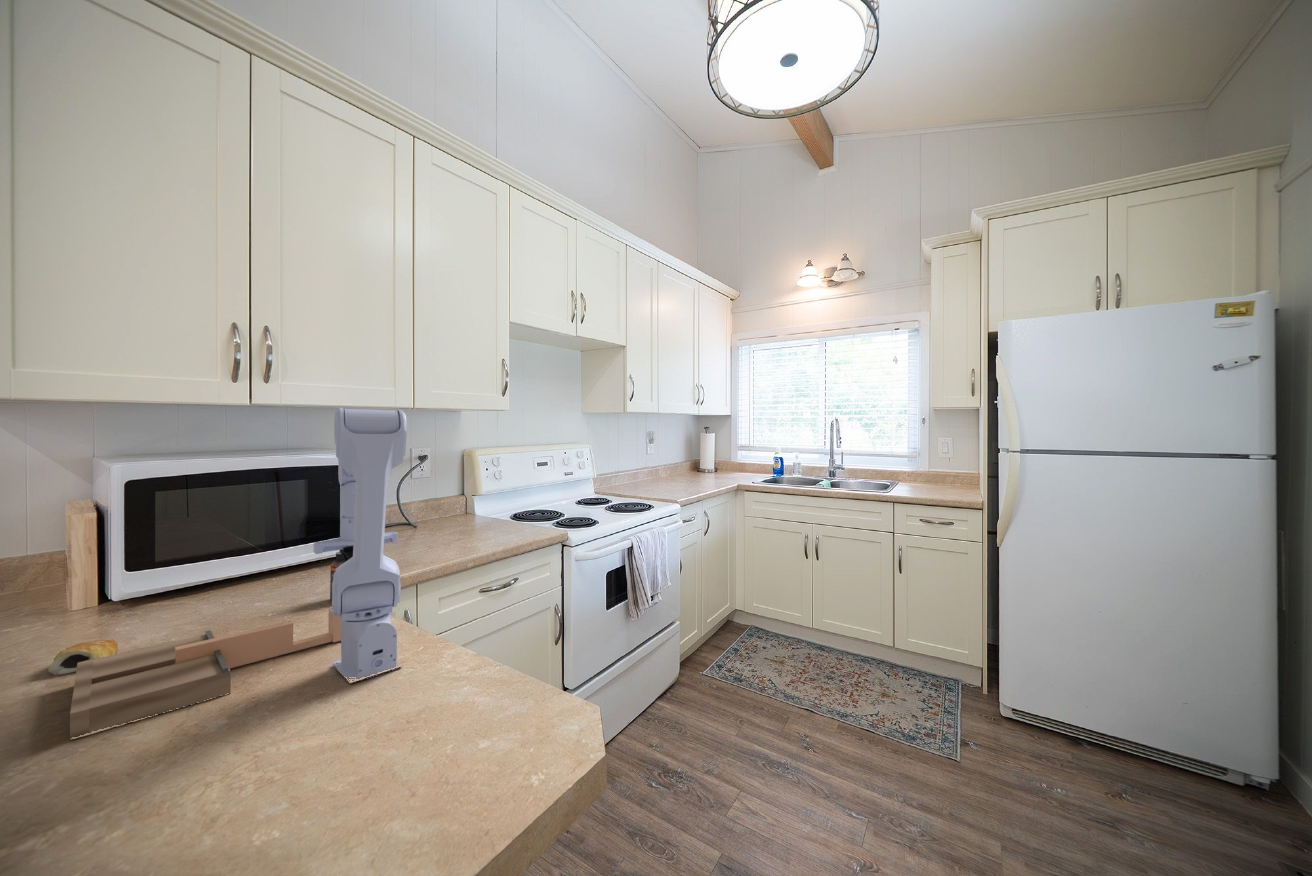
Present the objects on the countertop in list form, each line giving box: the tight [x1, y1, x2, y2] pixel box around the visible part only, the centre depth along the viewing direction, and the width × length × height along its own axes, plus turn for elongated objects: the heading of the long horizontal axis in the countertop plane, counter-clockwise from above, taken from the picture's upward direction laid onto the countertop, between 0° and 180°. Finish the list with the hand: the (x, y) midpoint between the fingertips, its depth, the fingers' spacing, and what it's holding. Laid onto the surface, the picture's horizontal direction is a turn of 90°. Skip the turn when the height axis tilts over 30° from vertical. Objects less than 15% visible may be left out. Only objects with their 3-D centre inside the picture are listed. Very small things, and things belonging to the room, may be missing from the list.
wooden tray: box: [69, 629, 232, 739], centre depth 75 cm, size 20×16×4 cm
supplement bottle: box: [329, 550, 345, 602], centre depth 116 cm, size 6×6×11 cm
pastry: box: [47, 639, 119, 676], centre depth 84 cm, size 9×7×4 cm
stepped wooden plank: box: [175, 607, 341, 669], centre depth 85 cm, size 3×23×6 cm, turn 138°
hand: (357, 583), depth 98 cm, fingers closed
